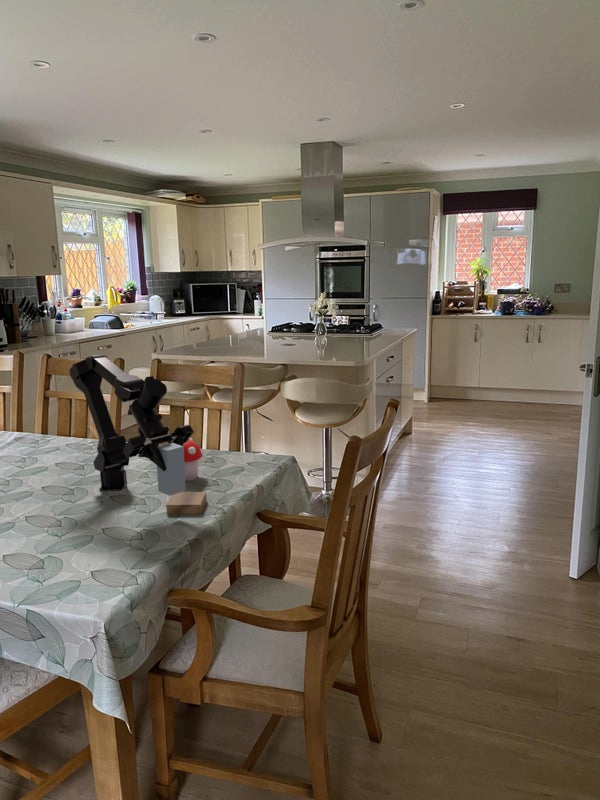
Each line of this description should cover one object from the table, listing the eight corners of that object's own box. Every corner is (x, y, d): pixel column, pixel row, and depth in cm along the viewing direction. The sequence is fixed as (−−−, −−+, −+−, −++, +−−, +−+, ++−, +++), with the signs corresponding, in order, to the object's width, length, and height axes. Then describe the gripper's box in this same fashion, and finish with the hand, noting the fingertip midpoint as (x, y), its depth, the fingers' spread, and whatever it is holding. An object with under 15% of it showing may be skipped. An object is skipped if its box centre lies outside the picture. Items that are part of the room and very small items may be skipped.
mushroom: (188, 485, 178) (186, 446, 175) (160, 479, 183) (158, 442, 181) (210, 474, 187) (208, 437, 185) (183, 469, 192) (181, 433, 190)
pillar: (158, 490, 155) (155, 446, 153) (174, 485, 159) (172, 442, 156) (169, 495, 152) (167, 450, 149) (185, 490, 156) (183, 446, 153)
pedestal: (167, 515, 158) (166, 504, 157) (174, 502, 166) (173, 492, 166) (201, 515, 157) (200, 504, 157) (206, 502, 166) (206, 492, 166)
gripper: (165, 428, 170) (191, 474, 165) (105, 442, 157) (131, 492, 152) (181, 406, 163) (207, 453, 158) (119, 418, 150) (146, 470, 145)
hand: (173, 467), depth 153 cm, fingers closed on pillar, 5 cm apart
